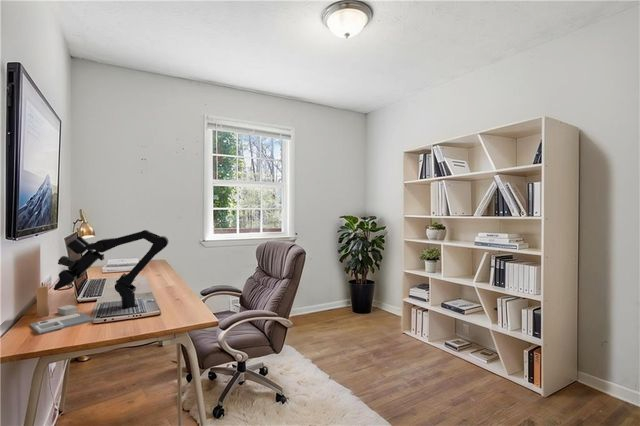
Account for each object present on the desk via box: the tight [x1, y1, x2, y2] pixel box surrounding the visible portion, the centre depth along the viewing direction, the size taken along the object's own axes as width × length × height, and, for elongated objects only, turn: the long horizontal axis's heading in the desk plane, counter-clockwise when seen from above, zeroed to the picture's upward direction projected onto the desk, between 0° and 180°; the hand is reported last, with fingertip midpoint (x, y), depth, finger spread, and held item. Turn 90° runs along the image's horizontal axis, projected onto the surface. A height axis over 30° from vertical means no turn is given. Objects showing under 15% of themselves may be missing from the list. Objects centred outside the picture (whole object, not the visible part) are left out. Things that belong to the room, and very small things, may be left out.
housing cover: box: [57, 304, 79, 316], centre depth 155 cm, size 7×5×2 cm
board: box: [30, 311, 94, 335], centre depth 140 cm, size 16×18×2 cm
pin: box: [35, 285, 50, 318], centre depth 151 cm, size 4×4×13 cm
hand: (58, 287), depth 153 cm, fingers open, 9 cm apart
